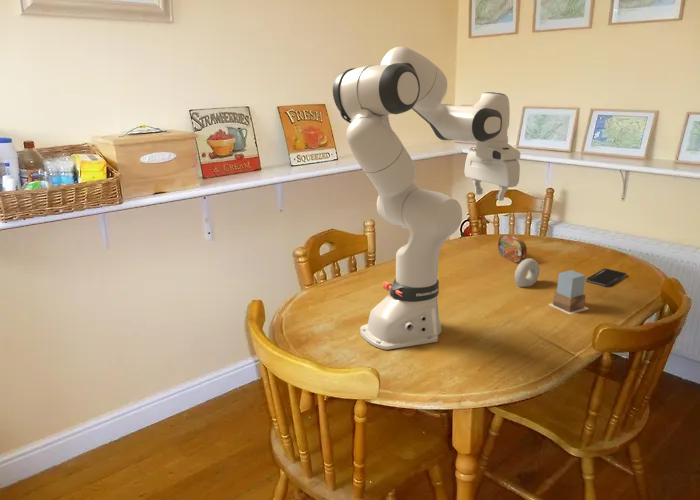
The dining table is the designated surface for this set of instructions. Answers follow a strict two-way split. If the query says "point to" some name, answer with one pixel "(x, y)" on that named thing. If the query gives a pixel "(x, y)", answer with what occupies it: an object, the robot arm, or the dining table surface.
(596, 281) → the phone
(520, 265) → the donut
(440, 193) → the robot arm
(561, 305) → the walnut block
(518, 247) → the tin
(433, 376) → the dining table surface
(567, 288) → the blue block
